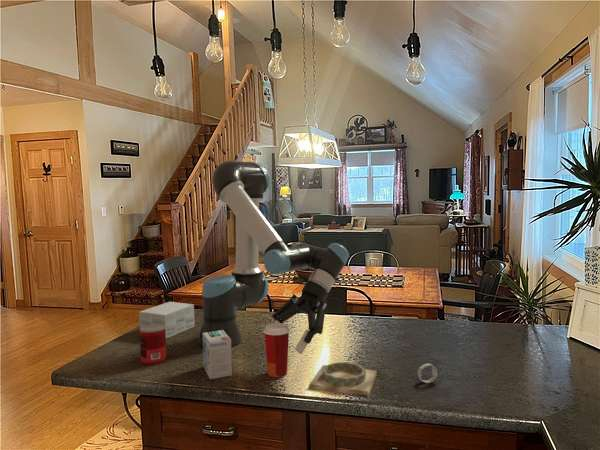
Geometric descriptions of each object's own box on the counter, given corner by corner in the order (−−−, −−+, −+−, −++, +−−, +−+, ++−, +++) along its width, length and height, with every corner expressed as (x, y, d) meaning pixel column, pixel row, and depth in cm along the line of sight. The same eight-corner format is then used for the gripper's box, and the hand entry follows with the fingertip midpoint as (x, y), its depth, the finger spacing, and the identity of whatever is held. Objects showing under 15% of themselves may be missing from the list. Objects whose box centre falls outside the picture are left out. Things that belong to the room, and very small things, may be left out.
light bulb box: (202, 366, 136) (201, 332, 135) (224, 363, 138) (223, 329, 138) (209, 379, 126) (208, 342, 125) (233, 375, 128) (232, 339, 128)
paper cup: (292, 368, 133) (291, 322, 132) (288, 379, 125) (287, 330, 124) (266, 368, 133) (265, 322, 132) (261, 378, 126) (260, 330, 125)
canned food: (171, 357, 144) (170, 324, 143) (155, 366, 136) (154, 331, 136) (151, 355, 146) (150, 322, 146) (135, 363, 139) (134, 329, 138)
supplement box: (170, 323, 184) (169, 301, 183) (195, 326, 178) (194, 304, 178) (139, 335, 169) (138, 310, 168) (165, 339, 163) (164, 314, 163)
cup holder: (309, 388, 119) (309, 376, 119) (323, 368, 132) (322, 358, 132) (368, 395, 114) (368, 383, 114) (376, 374, 127) (376, 363, 127)
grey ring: (438, 383, 121) (438, 365, 120) (421, 385, 120) (421, 367, 119) (432, 378, 124) (432, 361, 123) (416, 380, 123) (416, 363, 122)
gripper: (354, 300, 130) (319, 363, 121) (297, 288, 149) (263, 343, 140) (341, 285, 126) (304, 349, 117) (285, 275, 145) (249, 330, 136)
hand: (282, 346), depth 129 cm, fingers open, 13 cm apart
